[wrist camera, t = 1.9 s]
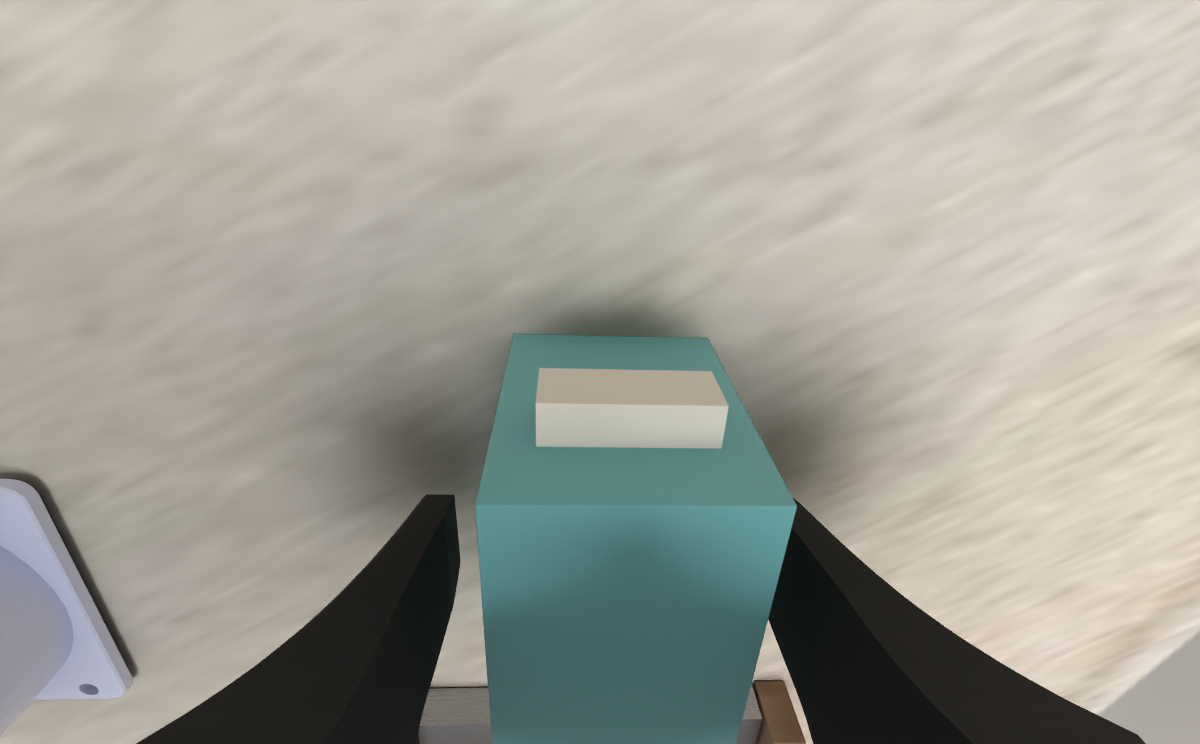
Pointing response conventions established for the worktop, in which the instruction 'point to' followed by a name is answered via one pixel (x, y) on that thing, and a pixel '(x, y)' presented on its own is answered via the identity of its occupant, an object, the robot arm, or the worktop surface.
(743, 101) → the worktop surface
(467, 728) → the grey flat plate
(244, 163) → the worktop surface
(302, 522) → the worktop surface
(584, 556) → the cabinet block
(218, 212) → the worktop surface
